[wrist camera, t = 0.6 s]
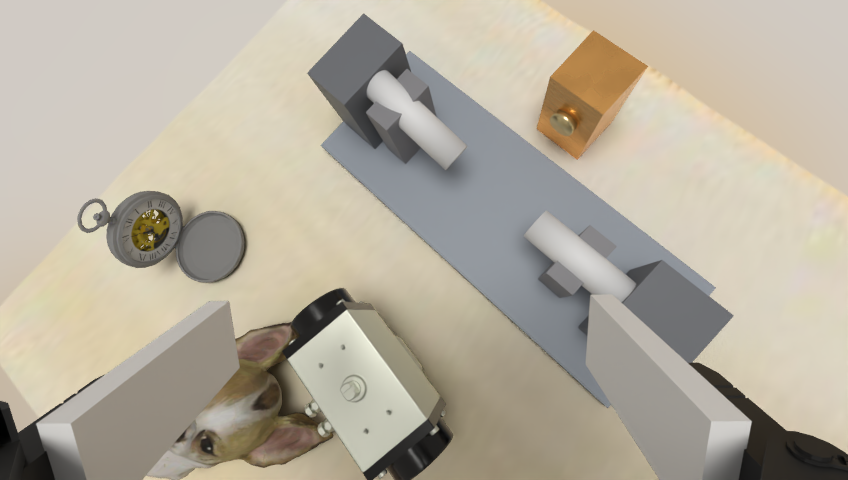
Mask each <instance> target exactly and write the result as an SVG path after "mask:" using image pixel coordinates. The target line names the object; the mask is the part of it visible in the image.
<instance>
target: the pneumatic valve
mask: <svg viewBox="0 0 848 480" xmlns="http://www.w3.org/2000/svg"><path fill="white" fill-rule="evenodd" d="M290 327H291V329H292V331H293V332H294V334H295V335H296V337H297V339H294V340H292V341H291V342H290V343H289V346H287V347H286V348H285V349H284V350H283V351H282V353H283V354H284V356H285V357H286V359H287V360H288V362H289V363H290V365H291V366H292V368H293V369H294V371H295V372H296V374H297V375H298V377H299V378H300V380H301V381H302V383H303V384H304V386H305V387H306V389H307V390H308V392H309V393H310V395H311V396H312V398H313V400H312V401H311V403H308V404H307V405H306V406H305V412H306V414H307V415H308V416H309V417H315V416H316V415H317V412H321V411H322V413H323V414H324V416H325V417H326V419H325V420H324V423H323V422H321V423H320V424H319V425H318V428H317V429H318V432H319V434H320V435H321V436H322V437H327V436H329V435H330V432H333V431H335V432H336V434H337V435H338V437H339V438H340V440H341V441H342V443H343V444H344V446H345V447H346V449H347V450H348V452H349V453H350V455H351V456H352V458H353V459H354V461H355V462H356V464H357V465H358V467H359V468H360V470H361V471H362V473H363V474H364V476H365V477H366V479H367V480H373V479H374V478H375V477H377V476H378V477H379V479H381V478H382V477H383V476H384V475H385V474H386V473H387V470H388V471H389V473H390V474H391V476H392V477H393V479H394V480H411V479H413V478H414V477H415V476H417V475H418V474H419V473H420V472H422V471H423V470H424V469H425V468H426V467H427V466H429V465H430V464H431V463H432V462H433V461H434V460H435V459H436V458H437V457H438V456H439V455H440V454H441V453H442V452H443V450H444V449H445V448H446V447H447V446H448V444H449V443H450V442H451V440H452V438H453V433H452V431H451V430H450V429H449V427H448V426H447V425H446V423H445V422H444V421H443V419H442V418H441V417H443V416H444V415H445V414H446V412H445V411H444V410H443V409H444V407H445V405H446V403H445V402H444V401H443V399H442V398H441V397H440V395H439V394H438V393H437V391H436V390H435V389H434V387H433V386H432V385H431V383H430V382H429V381H428V379H427V378H426V377H425V375H424V372H423V370H422V368H423V367H422V365H421V364H420V363H419V361H418V360H417V359H416V357H415V356H414V355H413V353H412V352H411V351H410V349H409V348H408V347H407V345H406V344H405V343H404V341H403V340H402V339H401V338H400V337H397V336H396V335H395V336H394V334H393V333H392V332H391V330H390V329H389V328H388V326H387V325H386V324H385V322H384V321H383V320H382V318H381V317H380V316H379V315H378V313H377V312H376V311H375V309H374V308H373V307H372V305H371V304H367V303H363V302H362V301H360V302H359V303H356V302H355V301H354V300H353V298H352V297H351V296H350V294H349V293H348V292H347V290H346V289H344V288H339V289H335V290H333V291H330V292H328V293H326V294H324V295H323V296H321V297H319V298H318V299H316V300H315V301H313V302H312V303H311V304H309V305H308V306H307V307H305V308H304V309H303V310H302V311H301V312H300V313H299V314H298V315H297V316H296V317H295V318H294V320H293V321H292V323H291V326H290ZM386 468H387V470H386Z"/></svg>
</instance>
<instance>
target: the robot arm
mask: <svg viewBox="0 0 848 480" xmlns="http://www.w3.org/2000/svg"><path fill="white" fill-rule="evenodd" d="M586 366H587V367H588V369H589V371H590V372H591V374H592V375H593V377H594V378H595V380H596V381H597V383H598V385H599V386H600V388H601V389H602V391H603V392H604V394H605V396H606V397H607V399H608V400H609V402H610V403H611V405H612V406H613V408H614V410H615V411H616V413H617V414H618V416H619V417H620V419H621V421H622V422H623V424H624V425H625V427H626V428H627V430H628V431H629V433H630V435H631V436H632V438H633V439H634V441H635V442H636V444H637V445H638V447H639V449H640V450H641V452H642V453H643V455H644V456H645V458H646V460H647V461H648V463H649V464H650V466H651V467H652V469H653V470H654V472H655V474H656V475H657V477H658V478H659V480H848V455H847V454H846V453H845V452H844V451H842V450H840V449H838V448H837V447H835V446H833V445H832V444H830V443H828V442H826V441H823V440H821V439H818V438H816V437H814V436H811V435H807V434H803V433H799V432H795V431H786V430H785V429H784V428H783V427H782V426H780V425H779V424H778V423H777V422H776V421H775V420H773V419H772V418H771V417H770V416H769V415H767V414H766V413H765V412H764V411H763V410H762V409H760V408H759V407H758V406H757V405H756V404H754V403H753V402H752V401H751V400H750V399H749V398H745V395H744V394H743V393H741V392H740V391H739V390H738V389H737V388H733V385H732V384H731V383H730V382H728V381H727V380H726V379H725V378H724V377H723V376H721V375H720V374H719V373H717V372H715V371H714V370H712V369H710V368H708V367H706V366H704V365H702V364H700V363H687V362H686V361H685V360H684V359H683V358H682V357H681V356H679V355H678V354H677V353H676V352H675V351H674V350H673V349H672V348H671V347H670V346H669V345H667V344H666V343H665V342H664V341H663V340H662V339H661V338H660V337H659V336H658V335H656V334H655V333H654V332H653V331H652V330H651V329H650V328H649V327H648V326H647V325H645V324H644V323H643V322H642V321H641V320H640V319H639V318H638V317H637V316H636V315H634V314H633V313H632V312H631V311H630V310H629V309H628V308H627V307H626V306H625V305H623V304H622V303H621V302H620V301H619V300H618V299H617V298H616V297H615V296H614V295H612V294H604V295H590V306H589V321H588V335H587V349H586ZM239 368H240V366H239V360H238V353H237V347H236V341H235V335H234V329H233V322H232V316H231V310H230V304H229V301H209V302H207V303H206V304H204V305H203V306H202V307H200V308H199V309H197V310H196V311H195V312H193V313H192V314H190V315H189V316H187V317H186V318H185V319H183V320H182V321H180V322H179V323H178V324H176V325H175V326H173V327H172V328H170V329H169V330H168V331H166V332H165V333H163V334H162V335H161V336H159V337H158V338H156V339H155V340H154V341H152V342H151V343H149V344H148V345H146V346H145V347H144V348H142V349H141V350H139V351H138V352H137V353H135V354H134V355H132V356H131V357H129V358H128V359H127V360H125V361H124V362H122V363H121V364H120V365H118V366H117V367H115V368H114V369H113V370H111V371H110V372H108V373H107V374H105V375H103V376H101V377H99V378H97V379H95V380H93V381H92V382H90V383H89V384H87V385H86V386H85V387H83V388H82V389H80V390H79V391H78V393H77V394H73V395H72V396H70V397H69V398H67V399H66V400H64V403H63V404H59V405H57V406H56V407H54V408H53V409H52V410H50V411H49V412H47V413H46V414H44V415H43V416H42V417H40V418H39V419H37V420H36V421H34V422H33V423H32V424H30V425H29V426H27V427H26V428H24V429H23V430H22V431H20V432H19V433H18V432H17V429H16V426H15V423H14V420H13V417H12V414H11V411H10V408H9V405H8V403H6V402H2V401H0V480H142V479H143V478H144V477H145V476H146V475H147V474H148V472H149V471H150V470H151V469H152V468H153V467H154V466H155V464H156V463H157V462H158V461H159V460H160V459H161V457H162V456H163V455H164V454H165V453H166V452H167V451H168V449H169V448H170V447H171V446H172V445H173V444H174V443H175V441H176V440H177V439H178V438H179V437H180V436H181V435H182V433H183V432H184V431H185V430H186V429H187V428H188V426H189V425H190V424H191V423H192V422H193V421H194V420H195V418H196V417H197V416H198V415H199V414H200V413H201V412H202V410H203V409H204V408H205V407H206V406H207V405H208V404H209V402H210V401H211V400H212V399H213V398H214V397H215V396H216V394H217V393H218V392H219V391H220V390H221V389H222V387H223V386H224V385H225V384H226V383H227V382H228V381H229V379H230V378H231V377H232V376H233V375H234V374H235V373H236V371H237V370H238V369H239Z"/></svg>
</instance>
